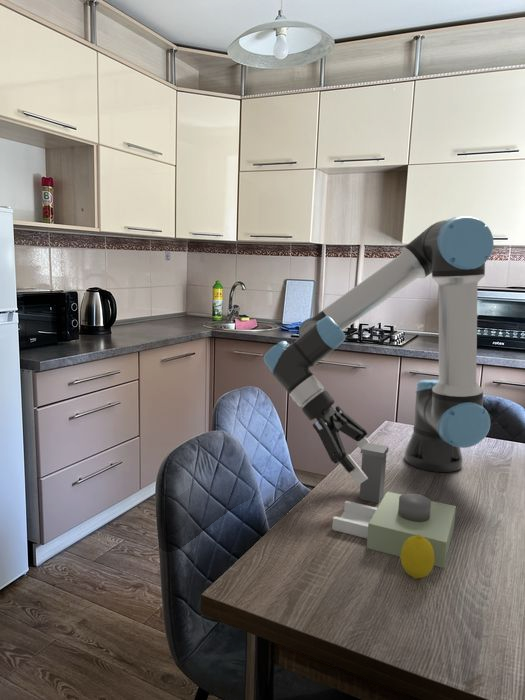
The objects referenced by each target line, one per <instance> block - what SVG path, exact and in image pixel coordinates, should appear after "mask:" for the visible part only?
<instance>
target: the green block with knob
mask: <svg viewBox="0 0 525 700" xmlns="http://www.w3.org/2000/svg"><path fill="white" fill-rule="evenodd" d="M456 509H457V506H456V505H452V504H448V503H441V502H438V501H432V500H431V499H430V498H428V497H426V496H425V495H422V494H418V493H403V494H400V493H395V492H392V491H387V492H386V493H385V495H383V497H382V499H381V500H380V502H379V504H378V507H376V506H371V505H366V504H363V503H358V502H353V501H348V500H345V502H344V508H343V510H344V511H343V512H342V513H341V515H340V516H336V515H334V516H333V517H332V527H331V528H332V531H337V532H340V533H344V534H348V535H352V536H355V537H360V538H364V539H366V549H369V550H373V551H377V552H380V553H384V554H389V555H392V556H396V557H399V558H401V550H402V547H403V544H404V542H405V541H406V540H407V539H408V538H409V537H411V536H415V535H421V536H422V537H424V538H426V539H427V540H428V541H429V542H430V543H431V545H432V547H433V550H434V566H433V567H438V568H442V569H444V568H445V566H446V562H447V558H448V553H449V549H450V545H451V541H452V537H453V534H454V530H455V518H456Z"/></svg>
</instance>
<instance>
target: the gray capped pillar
mask: <svg viewBox="0 0 525 700" xmlns="http://www.w3.org/2000/svg"><path fill="white" fill-rule="evenodd" d="M389 449H390V448H389V446H388V445H382V444H376V443H371V442H370V443H366V444H365V445H364V446H363V447H362V448H361V449H360V454H362V455H361V467H360V468H361V470H362V471H363V472H364V473H365V475H366V476H367V477H368V479H367V480H365V481H364V482H362V483H361V484H360V485H359V499H360V500H363V501H369V502H372V503H378V504H380V503H381V501H382V500H383V498H384V496H385V495H384V493H385V492H384V491H385V480H386V479H385V478H386V476H385V475H386V468H387V467H386V465H387V464H386V463H387V453H388V452H389V451H390V450H389Z"/></svg>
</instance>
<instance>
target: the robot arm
mask: <svg viewBox="0 0 525 700" xmlns="http://www.w3.org/2000/svg"><path fill="white" fill-rule="evenodd" d="M494 244H495V243H494V237H493V233H492V231H491V229H490V227H489V226H488V225H487V224H485V222H483V221H482V220H481V219H480V218H476V217H474V216H457V217H456V216H455V217H452V218H449V219H445V220H439V221H437V222H435V223H433V224H431V225H429V226H428V227H427V228H425V230H424V231H422V232H421V233H420V234H419V235H418V236H416V237H415V238H414V239H413V240H411V241H410V242H408V244H406V245H405V246H403V247H402V248H401V251H400V254H399V255H398V256H396V257H394V259H392V260H391V261H389V262H388V263H387V264H385V265H384V266H383V267H381V268H380V269H378V270H377V271H376V272H374V273H372V274H371V275H370V276H368V277H367V278H365V279H363V281H361V282H359V284H357V285H355V286H354V287H353V288H351V289H350V290H348V291H347V292H346V293H345V294H343V295H342V296H340V297H339V298H337V299H336V300H335V301H333V302H332V303H330V304H329V305H328V306H326V307H325V308H324V309H322V310H321V311H320V312H318V313H317V314H315V315H314V316H313V317H309V318H306V319H305V320H303V321H302V323H301V324H300V325H299V328H298V335H299V336H298V338H297V339H296V340H294V341H293V342H292V343H288V342H287V341H286V340H281V341H279V342H277V344H275V345H273V346H272V347H270V348H269V350H267V351H266V353H265V354H264V356H263V362H264V364H265V365H266V366H267V368H268V369H269V370H270V372H271V374H272V375H273V376H274V378H276V380H277V381H278V383H280V384H281V386H282V387H283V388H284V390H285V391H286V392H287V394H289V396H290V397H291V400H292V401H293V402H294V403H295V404H297V406H298V407H301V410H302V412H303V413H304V415H305V417H307V419H308V420H309V421H311V422H312V421H314V420H315V419H316V421H315V422H314V423H313V424H312V427H313V429H314V430H315V431H316V433H317V434H318V436H319V438H320V440H321V442H322V445H323V446H324V449H325V450H326V452H327V455H328V457H329V459H330V460H331V462H333V463H334V464H338V463H339V464H341V466H342V467H343V468H344V470H345V471H346V472H347V474H348V475H349V476H350V477H351V479H352V480H353V481H354V483H356V485H357V486H360V484H361V483H362V482H364V481H365V480H367V479H368V477H367V476H366V475H365V473H364V472H363V471H362V470H361V467H360V466H359V464H358V463H357V462H356V461H355V460H354V458H353V457H352V456H351V455H350V454H349V453H348V454H347V451H346V450H345V447H344V444H343V441H342V438H341V436H340V434H339V432H341V433H343V434H345V435H346V436H347V437H349V438H351V439H352V440H354V441H355V442H356V446H357V447H358V448H359V449H360V450H361V448H362V447H363V446H364V445H365V444H366V443H371V442H370V441H369V440H368V437H366V436H368V432H367V431H366V430H365V428H363V427H362V426H361V425H360V424H358V423H357V421H355V419H353V418H352V417H351V416H350V415H348V414H347V413H346V412H345V411H344V410H343V409H342V408H341V406H339V405H337V406H336V407H332V406H333V405H334V404H335V399H334V398H333V396H331V394H330V393H329V392H328V390H324V388H325V387H324V385H323V384H322V383H321V382H320V381H319V379H318V378H317V377H316V376H315V374H314V373H313V372H312V370H310V369H312V368H313V367H314V366H315V365H316V364H317V363H320V361H322V360H323V359H324V358H325V357H327V356H328V355H329V354H331V352H333V351H334V350H337V348H339V346H340V345H341V344H342V343H343V342H345V340H346V336H347V335H346V334H345V332H344V331H345V330H346V329H347V328H349V327H350V326H351V325H353V324H355V323H356V322H358V321H359V320H360V319H361V318H363V317H365V316H366V315H367V314H369V313H370V312H371V311H373V310H374V309H376V308H377V307H378V306H380V305H381V304H383V303H384V302H386V301H387V300H389V299H390V298H392V297H393V296H394V295H395V294H397V293H399V292H400V291H402V290H403V289H404V288H406V287H407V286H408V285H410V284H411V283H413V282H414V281H416V279H425V278H426V277H428V276H429V275H431V278H432V279H433V280H434V281H435V282H436V283H437V284H438V379H421V380H419V381H418V382H417V385H416V390H415V402H414V403H415V405H414V417H413V418H414V419H413V432H412V434H411V437H410V439H409V441H408V443H407V446H406V448H405V449H404V450H405V451H404V460H405V462H406V463H407V464H409V465H410V466H413V467H415V468H417V469H421V470H424V471H429V472H436V473H448V472H449V473H451V472H456V471H460V470H461V469H462V467H463V460H464V459H463V454H462V451H461V450H462V449H463V448H465V449H466V448H471V447H473V446H476V445H478V444H480V442H481V441H482V440H484V439H485V438H486V437H487V435H488V434H489V431H490V429H491V418H490V414H489V413H488V410H486V408H485V407H484V389H483V388H482V386H480V385H479V384H478V383H477V358H478V357H477V356H478V355H477V354H478V353H477V352H478V350H477V347H478V345H477V344H478V340H477V339H478V336H477V335H478V283H479V282H480V281H481V280H482V279H483V278H484V277H486V275H485V274H486V262H487V261H488V259H489V258H490V256H491V255H492V253H493V250H494Z"/></svg>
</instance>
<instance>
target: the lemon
mask: <svg viewBox="0 0 525 700" xmlns="http://www.w3.org/2000/svg"><path fill="white" fill-rule="evenodd" d="M400 562H401V565H402V566H401V567H402V568H403V570H404V571H405V572H406V574H407V575H409V576H411V577H412V578H413V579H414V580H418V579H421V578H425V577H427V576H428V575H429V574H431V572H432V570H433V568H434V567H435V566H434V550H433V547H432V545H431V543H430V542H429V541H428V540H427V539H426V538H424V537H422V536H421V535H415V536H411V537H409V538H408V539H407V540H406V541H405V542H404V544H403V547H402V550H401V557H400Z"/></svg>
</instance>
